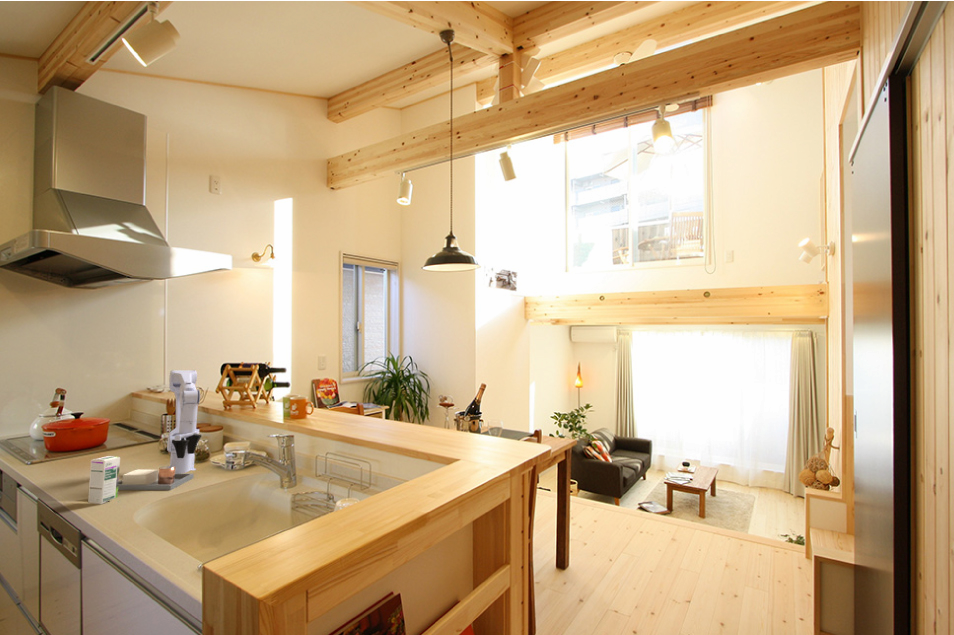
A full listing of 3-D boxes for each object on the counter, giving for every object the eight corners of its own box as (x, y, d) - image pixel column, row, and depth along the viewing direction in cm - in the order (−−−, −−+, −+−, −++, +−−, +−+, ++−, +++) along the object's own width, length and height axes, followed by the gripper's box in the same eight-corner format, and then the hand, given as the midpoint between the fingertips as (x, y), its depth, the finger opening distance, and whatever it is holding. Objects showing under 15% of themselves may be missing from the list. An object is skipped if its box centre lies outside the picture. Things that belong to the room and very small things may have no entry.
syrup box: (101, 504, 155) (105, 460, 156) (87, 503, 156) (90, 458, 157) (117, 499, 160) (121, 456, 161) (103, 497, 162) (107, 455, 163)
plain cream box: (135, 480, 180) (136, 469, 180) (157, 480, 181) (158, 469, 181) (121, 486, 172) (122, 475, 172) (144, 486, 173) (145, 475, 173)
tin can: (162, 481, 179) (164, 465, 180) (176, 481, 180) (178, 465, 180) (154, 485, 174) (156, 468, 175) (169, 485, 175) (171, 468, 175)
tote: (137, 479, 184) (138, 473, 184) (193, 480, 185) (193, 473, 186) (109, 492, 168) (109, 485, 168) (170, 492, 170) (170, 485, 170)
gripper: (189, 423, 178) (186, 460, 177) (207, 418, 192) (205, 451, 191) (169, 423, 177) (167, 460, 176) (189, 418, 192) (187, 451, 191)
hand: (185, 455), depth 184 cm, fingers open, 7 cm apart
